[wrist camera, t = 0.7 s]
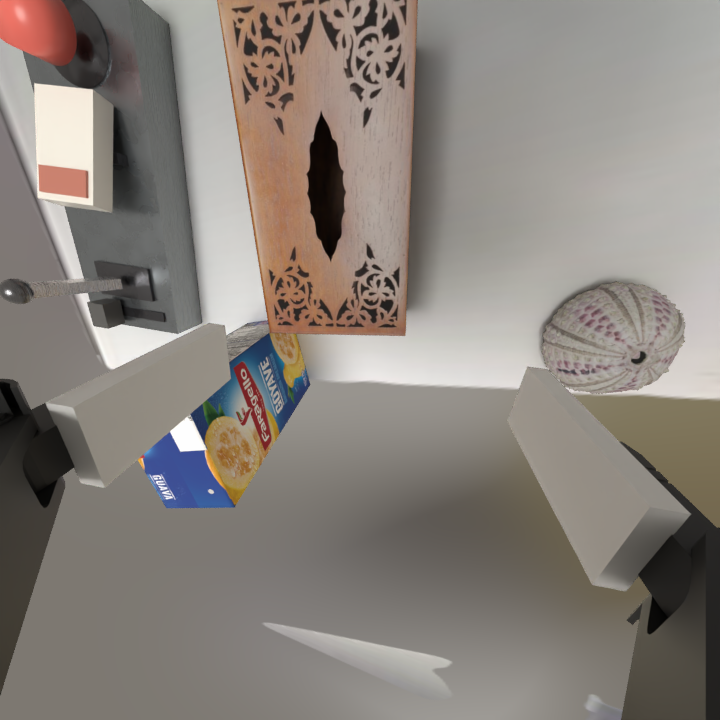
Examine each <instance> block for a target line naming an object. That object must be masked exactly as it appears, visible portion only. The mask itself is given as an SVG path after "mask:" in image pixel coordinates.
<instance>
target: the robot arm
mask: <svg viewBox="0 0 720 720" xmlns="http://www.w3.org/2000/svg"><path fill="white" fill-rule="evenodd" d="M230 379H231V375H230V367H229V358H228V349H227V340H226V332H225V325H219V324H211V323H208V324H206V325H204V326H202V327H200V328H198V329H196V330H194V331H192V332H190V333H188V334H186V335H183V336H181V337H179V338H177V339H175V340H173V341H171V342H169V343H167V344H165V345H163V346H161V347H159V348H157V349H155V350H153V351H151V352H148V353H146V354H144V355H142V356H140V357H138V358H136V359H134V360H132V361H130V362H128V363H126V364H124V365H122V366H120V367H118V368H116V369H114V370H111V371H109V372H107V373H105V374H103V375H101V376H99V377H97V378H95V379H93V380H91V381H89V382H87V383H85V384H83V385H81V386H79V387H77V388H74V389H73V390H70V391H68V392H66V393H64V394H62V395H60V396H58V397H56V398H54V399H52V400H50V401H48V402H46V403H44V404H42V405H40V406H38V407H36V408H34V409H32V410H31V409H30V407H29V405H28V403H27V401H26V398H25V396H24V394H23V392H22V390H21V388H20V386H19V384H18V382H16V381H14V380H10V379H0V694H1V691H2V688H3V685H4V682H5V678H6V675H7V672H8V669H9V665H10V662H11V659H12V656H13V653H14V650H15V646H16V643H17V640H18V637H19V634H20V630H21V627H22V624H23V621H24V618H25V614H26V611H27V608H28V605H29V602H30V598H31V595H32V592H33V589H34V585H35V582H36V579H37V575H38V573H39V569H40V566H41V563H42V560H43V556H44V553H45V550H46V547H47V544H48V541H49V537H50V534H51V531H52V528H53V524H54V521H55V518H56V515H57V512H58V508H59V505H60V502H61V499H62V495H63V492H64V489H65V481H64V479H63V477H62V476H63V475H64V474H65V473H67V472H68V471H70V470H71V469H72V468H74V469H75V471H76V473H77V476H78V478H79V480H80V482H81V483H83V484H88V485H93V486H98V487H103V488H105V487H107V486H108V485H109V484H110V483H111V482H112V481H113V480H115V479H116V478H117V477H118V476H119V475H120V474H121V473H123V472H124V471H125V470H126V469H127V468H128V467H130V466H131V465H132V464H133V463H134V462H135V461H136V460H138V459H139V458H140V457H141V456H142V455H143V454H145V453H146V452H147V451H148V450H149V449H150V448H152V447H153V446H154V445H155V444H156V443H157V442H158V441H160V440H161V439H162V438H163V437H164V436H165V435H167V434H168V433H169V432H170V431H171V430H172V429H174V428H175V427H176V426H177V425H178V424H179V423H180V422H182V421H183V420H184V419H185V418H186V417H187V416H189V415H190V414H191V413H192V412H193V411H194V410H195V409H197V408H198V407H199V406H200V405H201V404H202V403H204V402H205V401H206V400H207V399H208V398H209V397H210V396H212V395H213V394H214V393H215V392H216V391H217V390H219V389H220V388H221V387H222V386H223V385H224V384H226V383H227V382H228V381H229V380H230ZM507 422H508V424H509V426H510V428H511V430H512V432H513V434H514V436H515V437H516V439H517V441H518V443H519V445H520V447H521V449H522V451H523V453H524V455H525V457H526V458H527V460H528V462H529V464H530V466H531V468H532V470H533V472H534V474H535V476H536V478H537V480H538V481H539V483H540V485H541V487H542V489H543V491H544V493H545V495H546V497H547V499H548V501H549V503H550V505H551V507H552V508H553V510H554V512H555V514H556V516H557V518H558V520H559V522H560V524H561V526H562V528H563V530H564V531H565V533H566V535H567V537H568V539H569V541H570V543H571V545H572V547H573V549H574V551H575V552H576V554H577V556H578V558H579V560H580V562H581V564H582V566H583V568H584V570H585V572H586V574H587V575H588V577H589V579H590V581H591V583H592V585H596V586H601V587H606V588H612V589H617V590H621V591H627V590H628V588H629V587H630V586H631V585H632V584H633V582H634V581H635V580H636V579H637V578H638V577H640V578H641V579H642V581H643V583H644V584H645V586H646V587H647V589H648V590H649V592H650V594H649V595H648V596H647V597H646V598H645V599H644V600H643V602H642V603H641V604H640V605H639V606H638V607H637V608H636V609H635V610H634V611H633V613H632V614H631V615H630V616H629V618H628V619H627V621H628V622H630V623H631V624H634V623H635V622H636V620H638V619H639V625H638V631H637V636H636V642H635V647H634V652H633V658H632V664H631V669H630V674H629V680H628V686H627V691H626V696H625V702H624V707H623V712H622V718H621V720H720V528H717V527H715V526H714V525H713V524H712V523H711V522H710V521H709V520H708V519H707V518H706V517H705V516H704V515H703V514H702V513H701V512H700V511H699V510H698V509H697V508H696V507H695V506H694V505H693V504H692V503H690V502H689V500H688V499H686V498H685V497H684V496H683V495H682V494H681V493H680V492H679V491H678V490H677V489H676V488H675V487H674V486H673V485H672V484H669V483H668V480H667V479H666V478H665V477H663V475H662V474H661V473H660V472H658V471H656V469H655V468H654V467H653V466H652V465H651V464H650V463H649V462H648V461H647V460H646V459H645V458H644V457H643V456H642V455H641V454H639V453H638V452H636V451H635V450H633V449H632V448H630V447H629V446H627V445H626V444H624V443H623V442H619V441H617V439H616V438H615V437H614V436H613V435H612V434H611V433H610V432H609V431H608V430H607V429H606V428H605V427H604V426H603V425H602V424H601V423H600V422H599V421H598V420H597V419H596V418H595V417H594V416H593V415H592V414H591V413H590V412H589V411H588V410H587V409H586V408H585V407H584V406H583V405H582V404H581V403H580V402H579V401H578V400H577V399H576V398H575V397H574V396H573V395H572V394H571V393H570V392H569V391H568V390H567V389H566V388H565V387H564V386H563V385H562V384H561V383H560V382H559V381H558V380H557V379H556V378H555V377H554V376H553V375H552V374H551V373H550V372H549V371H548V370H547V369H541V368H534V367H527V369H526V372H525V375H524V377H523V380H522V383H521V385H520V388H519V391H518V394H517V396H516V399H515V402H514V404H513V407H512V410H511V412H510V415H509V418H508V420H507Z"/></svg>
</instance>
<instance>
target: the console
mask: <svg viewBox="0 0 720 720" xmlns="http://www.w3.org/2000/svg"><path fill="white" fill-rule="evenodd" d="M61 1H62V2H63V3H64V5H65V6H66V8H67V9H68V11H69V13H70V15H71V18H72V20H73V23H74V26H75V31H76V38H77V46H76V52H75V55H74V57H73V59H72V60H71V61H70V62H69V63H68V64H67V65H64V66H55V65H52V64H50V63H48V62H46V61H44V60H42V59H40V58H37V57H35V56H33V55H31V54H29V53H27V52H25V51H23V54H24V58H25V61H26V65H27V69H28V72H29V76H30V80H31V84H32V87H33V91H34V83H35V84H45V85H55V86H64V87H74V88H83V89H93V90H94V91H96V92H97V93H98V94H100V95H101V96H102V97H104V98H105V99H106V100H107V101H109V102H110V103H111V104H113V207H112V213H111V212H104V211H97V210H89V209H82V208H75V207H68V206H65V210H66V213H67V217H68V221H69V225H70V228H71V232H72V236H73V239H74V243H75V247H76V250H77V254H78V258H79V262H80V265H81V269H82V273H83V276H84V279H85V278H99V277H116V278H119V279H121V283H122V288H123V289H118V290H109V291H99V292H89V293H88V295H89V299H90V302H91V301H95V300H100V299H104V298H108V299H114V300H120V302H121V307H122V311H123V316H124V320H125V323H124V324H123V325H129V326H135V327H141V328H147V329H153V330H158V331H164V332H170V333H176V334H179V333H181V332H183V331H185V330H188V329H190V328H192V327H194V326H196V325H199V324H201V323H202V320H201V311H200V302H199V293H198V284H197V275H196V266H195V257H194V248H193V239H192V230H191V221H190V212H189V203H188V194H187V185H186V176H185V167H184V158H183V149H182V140H181V131H180V122H179V113H178V104H177V95H176V86H175V77H174V68H173V59H172V50H171V41H170V32H169V24H168V23H167V22H166V21H165V20H164V19H162V18H161V17H160V16H159V15H158V14H157V13H156V12H155V11H153V10H152V9H151V8H150V7H149V6H148V5H147V4H145V3H144V2H143V1H142V0H61ZM34 95H35V93H34Z"/></svg>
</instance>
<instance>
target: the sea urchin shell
mask: <svg viewBox="0 0 720 720" xmlns="http://www.w3.org/2000/svg"><path fill="white" fill-rule="evenodd" d="M675 306H676V305H675V304H672V303H671V302H670V300H667V299H666V295H661V294H660V293H658V292H657V290H654V289H650V288H649V287H646V286H645V285H635V284H633V283H630V284H627V285H625V284H623V283H619V282H617V281H616V282H614V283H611V284H606V285H605V284H601V285H600V286H599V287H597V288H596V289H595V290H589V291H587V292H584V293H583V294H579V295H577V296H576V297H575V298H574V299H572V300H570V301H568V303H565V304H564V306H563V307H562V308H560V309H558V312H557V314H555V315H554V316H553V319H552V321H551V322H550V323H549V324H548V325H546V326H545V327H546V331H545V332H544V333H543V338H544V343H543V344H542V347H543V350H542V354H543V355H544V361H545V364H546V367H548V368H549V371H550V372H552V373H553V374H554V375H555V377H556V378H557V379H560V382H561V383H562V384H563V385H564V387H569V389H573V390H574V391H577V390H578V391H586V392H590V393H592V394H593V393H596V394H597V393H598V394H600V393H601V394H603V393H611V392H622V391H626V390H639V389H640V388H642V387H643V386H645V385H649V384H651V383H653V382H654V381H656V380H658V379H659V377H660V376H661V375H662V374H663V373H666V372H669V370H668V367H669V366H670V364H671V363H672V361H673V360H674V358H675V356H676V355H677V353H678V350H679V348H680V347H681V346H683V345H682V343H684V342H685V341H684V336H683V334H684V329H685V322H684V319H683V317H682V315H683V314H682V313H680V310H677V309H675Z"/></svg>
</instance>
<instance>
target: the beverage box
mask: <svg viewBox="0 0 720 720" xmlns="http://www.w3.org/2000/svg"><path fill="white" fill-rule="evenodd" d="M226 340H227V349H228V358H229V367H230V375H231V379H230V380H229V381H228V382H227V383H226V384H224V385H223V386H222V387H221V388H220V389H219V390H217V391H216V392H215V393H214V394H213V395H212V396H210V397H209V398H208V399H207V400H206V401H205V402H204V403H202V404H201V405H200V406H199V407H198V408H197V409H195V410H194V411H193V412H192V413H191V414H190V415H189V416H187V417H186V418H185V419H184V420H183V421H182V422H180V423H179V424H178V425H177V426H176V427H175V428H174V429H172V430H171V431H170V432H169V433H168V434H167V435H165V436H164V437H163V438H162V439H161V440H160V441H158V442H157V443H156V444H155V445H154V446H153V447H152V448H150V449H149V450H148V451H147V452H146V453H145V454H143V455H142V456H141V457H140V458H139V459H138V461H139V463H140V464H141V466H142V467H143V469H144V471H145V473H146V474H147V476H148V478H149V479H150V481H151V483H152V484H153V486H154V488H155V489H156V491H157V493H158V495H159V496H160V498H161V500H162V501H163V503H164V505H165V506H166V508H219V507H220V508H223V507H235V505H236V504H237V502H238V500H239V499H240V497H241V496H242V494H243V492H244V491H245V489H246V488H247V486H248V484H249V483H250V481H251V479H252V478H253V476H254V475H255V473H256V471H257V470H258V468H259V467H260V465H261V463H262V462H263V460H264V458H265V457H266V455H267V454H268V452H269V450H270V449H271V447H272V446H273V444H274V442H275V441H276V439H277V437H278V435H279V434H280V432H281V431H282V429H283V428H284V426H285V424H286V423H287V421H288V420H289V418H290V416H291V415H292V413H293V412H294V410H295V408H296V407H297V405H298V403H299V402H300V400H301V399H302V397H303V395H304V394H305V392H306V391H307V389H308V387H309V386H310V383H309V379H308V375H307V371H306V368H305V364H304V361H303V357H302V353H301V350H300V346H299V343H298V339H297V335H296V334H286V333H270V331H269V324H268V320H267V321H260V322H253V323H247V324H245V325H244V326H242V327H240V328H239V329H237V330H235V331H233V332H232V333H230V334H228V335H227V336H226Z"/></svg>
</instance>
